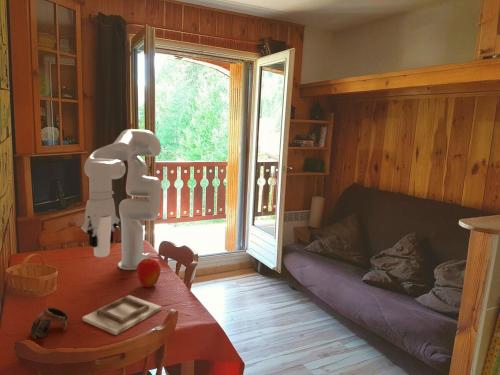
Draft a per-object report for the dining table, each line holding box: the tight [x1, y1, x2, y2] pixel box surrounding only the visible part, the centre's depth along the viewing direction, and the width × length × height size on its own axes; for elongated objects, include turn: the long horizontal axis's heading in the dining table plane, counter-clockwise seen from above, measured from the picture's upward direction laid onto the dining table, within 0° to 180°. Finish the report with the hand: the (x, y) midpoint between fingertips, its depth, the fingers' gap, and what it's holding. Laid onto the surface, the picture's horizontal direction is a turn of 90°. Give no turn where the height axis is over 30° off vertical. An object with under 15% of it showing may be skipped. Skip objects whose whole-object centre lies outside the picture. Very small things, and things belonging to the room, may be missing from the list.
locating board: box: [82, 294, 162, 336], centre depth 126 cm, size 20×16×3 cm
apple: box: [136, 257, 162, 288], centre depth 149 cm, size 9×9×12 cm
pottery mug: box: [29, 307, 69, 340], centre depth 113 cm, size 12×10×8 cm
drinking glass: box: [92, 215, 111, 258], centre depth 133 cm, size 7×7×15 cm
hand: (101, 243), depth 134 cm, fingers closed on drinking glass, 6 cm apart
